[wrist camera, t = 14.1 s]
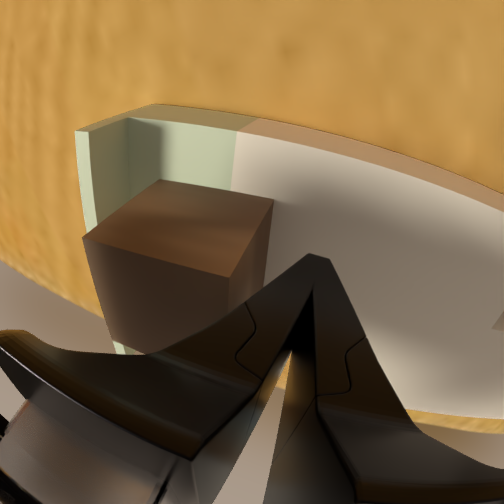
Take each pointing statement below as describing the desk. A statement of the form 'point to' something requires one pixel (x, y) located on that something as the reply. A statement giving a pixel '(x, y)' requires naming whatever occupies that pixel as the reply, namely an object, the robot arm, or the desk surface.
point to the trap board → (341, 234)
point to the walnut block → (177, 261)
